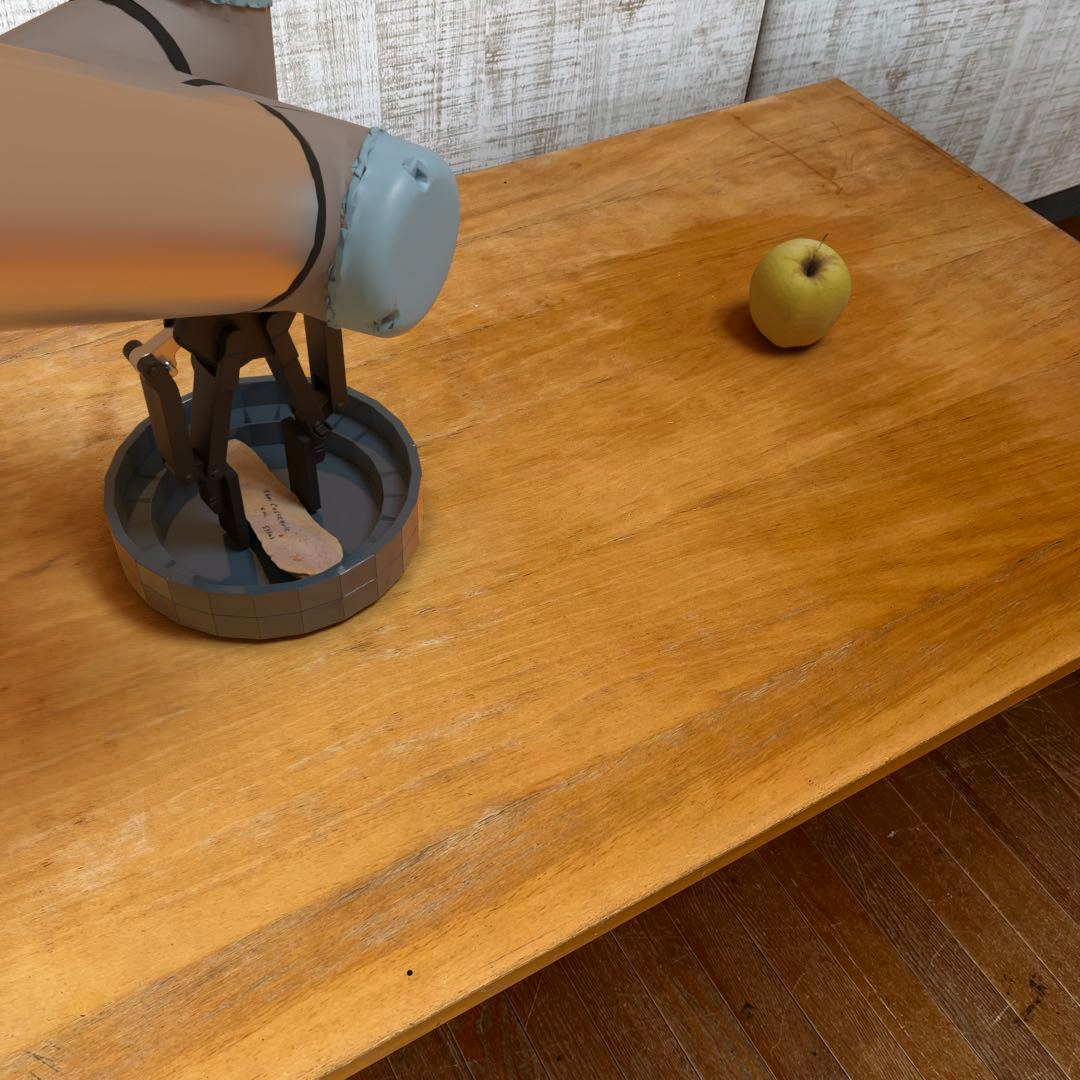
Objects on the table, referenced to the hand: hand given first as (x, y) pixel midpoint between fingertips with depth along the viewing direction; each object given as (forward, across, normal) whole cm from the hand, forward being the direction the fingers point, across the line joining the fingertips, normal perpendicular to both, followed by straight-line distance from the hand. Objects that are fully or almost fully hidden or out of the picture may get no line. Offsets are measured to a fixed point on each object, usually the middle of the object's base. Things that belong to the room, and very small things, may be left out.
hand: (271, 515), depth 80 cm
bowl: (+1, 0, 0) cm, 1 cm away
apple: (+1, -46, +7) cm, 46 cm away
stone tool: (0, 0, 0) cm, 0 cm away
